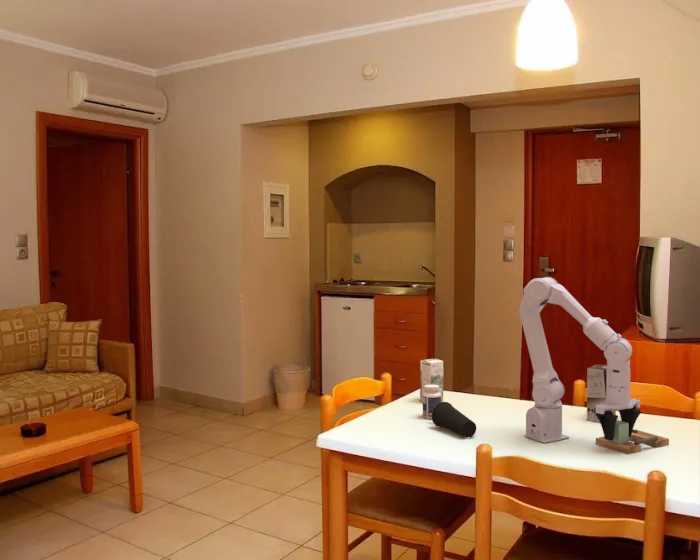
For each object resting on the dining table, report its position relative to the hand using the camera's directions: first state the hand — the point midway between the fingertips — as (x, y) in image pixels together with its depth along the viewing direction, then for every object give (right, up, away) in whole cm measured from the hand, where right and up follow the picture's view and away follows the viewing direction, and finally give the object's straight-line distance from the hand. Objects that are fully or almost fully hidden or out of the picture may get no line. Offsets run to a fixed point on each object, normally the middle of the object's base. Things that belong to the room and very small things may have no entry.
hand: (617, 437), depth 168 cm
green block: (0, -1, 0) cm, 1 cm away
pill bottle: (-44, -2, +33) cm, 55 cm away
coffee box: (+7, -2, +29) cm, 30 cm away
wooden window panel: (+5, -2, +3) cm, 6 cm away
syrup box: (-42, -1, +54) cm, 68 cm away
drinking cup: (-37, 0, +10) cm, 38 cm away
